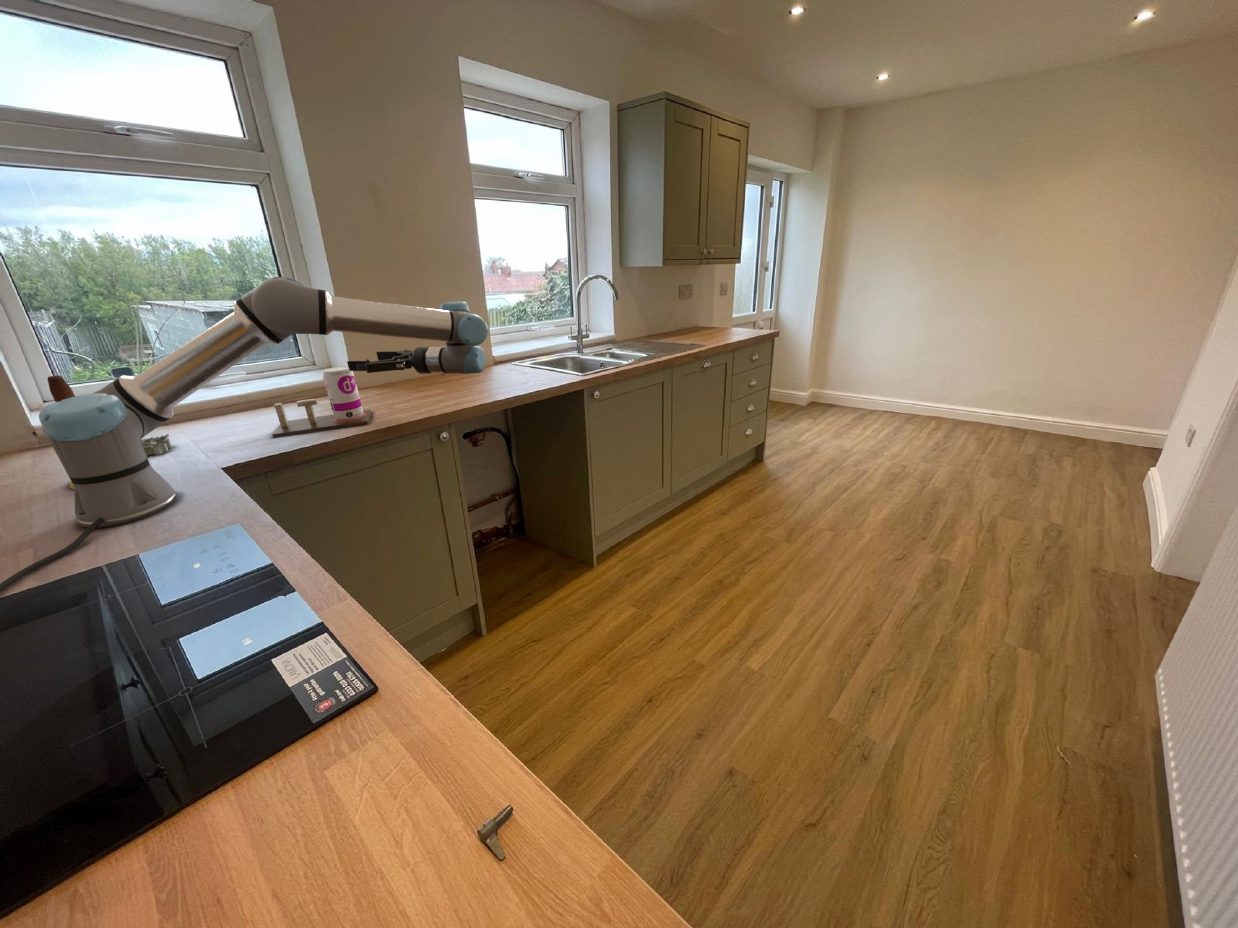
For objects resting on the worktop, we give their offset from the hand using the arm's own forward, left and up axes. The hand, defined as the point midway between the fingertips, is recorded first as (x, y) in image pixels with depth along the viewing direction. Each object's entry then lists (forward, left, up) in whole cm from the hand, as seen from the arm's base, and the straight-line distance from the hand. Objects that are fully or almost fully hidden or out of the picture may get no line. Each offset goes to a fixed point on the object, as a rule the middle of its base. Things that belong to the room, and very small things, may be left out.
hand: (363, 360), depth 146 cm
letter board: (+5, +15, -19) cm, 25 cm away
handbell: (-16, +60, -19) cm, 65 cm away
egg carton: (+1, +58, -19) cm, 61 cm away
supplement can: (+5, +8, -18) cm, 20 cm away
